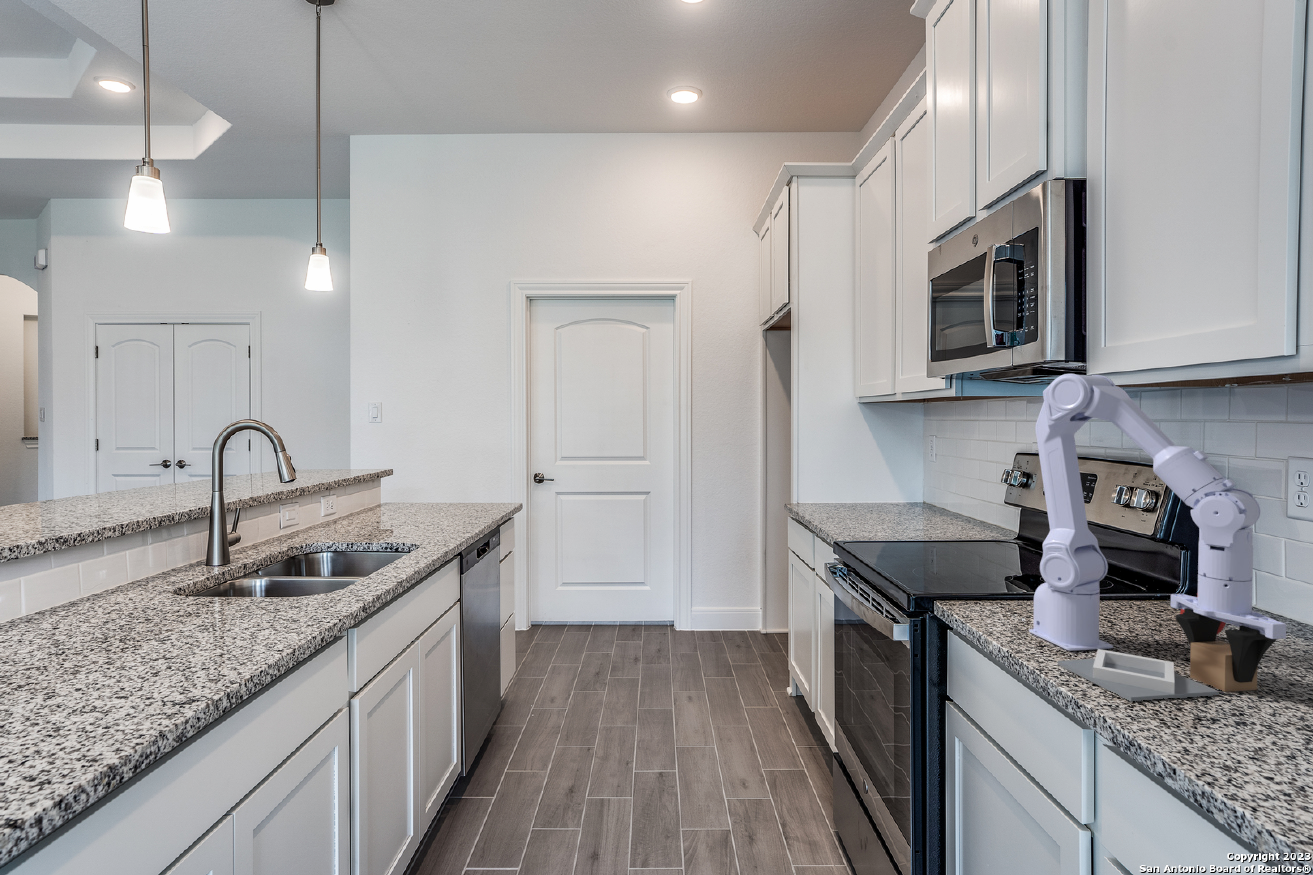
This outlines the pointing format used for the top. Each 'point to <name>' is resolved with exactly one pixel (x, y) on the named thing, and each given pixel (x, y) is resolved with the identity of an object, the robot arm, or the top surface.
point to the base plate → (1137, 691)
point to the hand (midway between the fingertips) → (1222, 673)
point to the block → (1216, 666)
